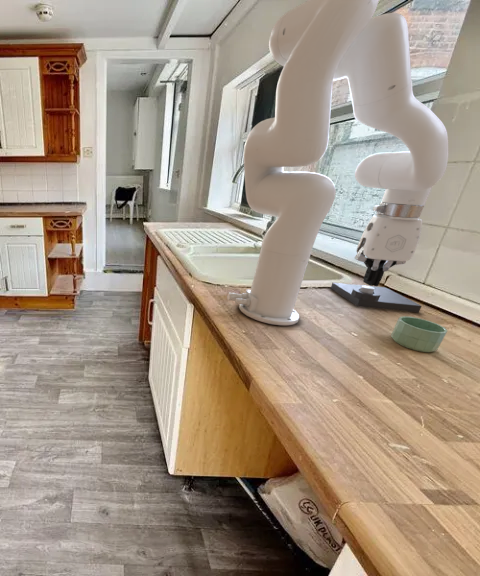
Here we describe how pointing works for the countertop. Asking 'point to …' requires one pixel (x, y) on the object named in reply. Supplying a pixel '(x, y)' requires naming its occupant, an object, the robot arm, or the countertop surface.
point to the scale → (375, 298)
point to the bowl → (418, 334)
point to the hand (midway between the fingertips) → (370, 283)
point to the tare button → (367, 289)
